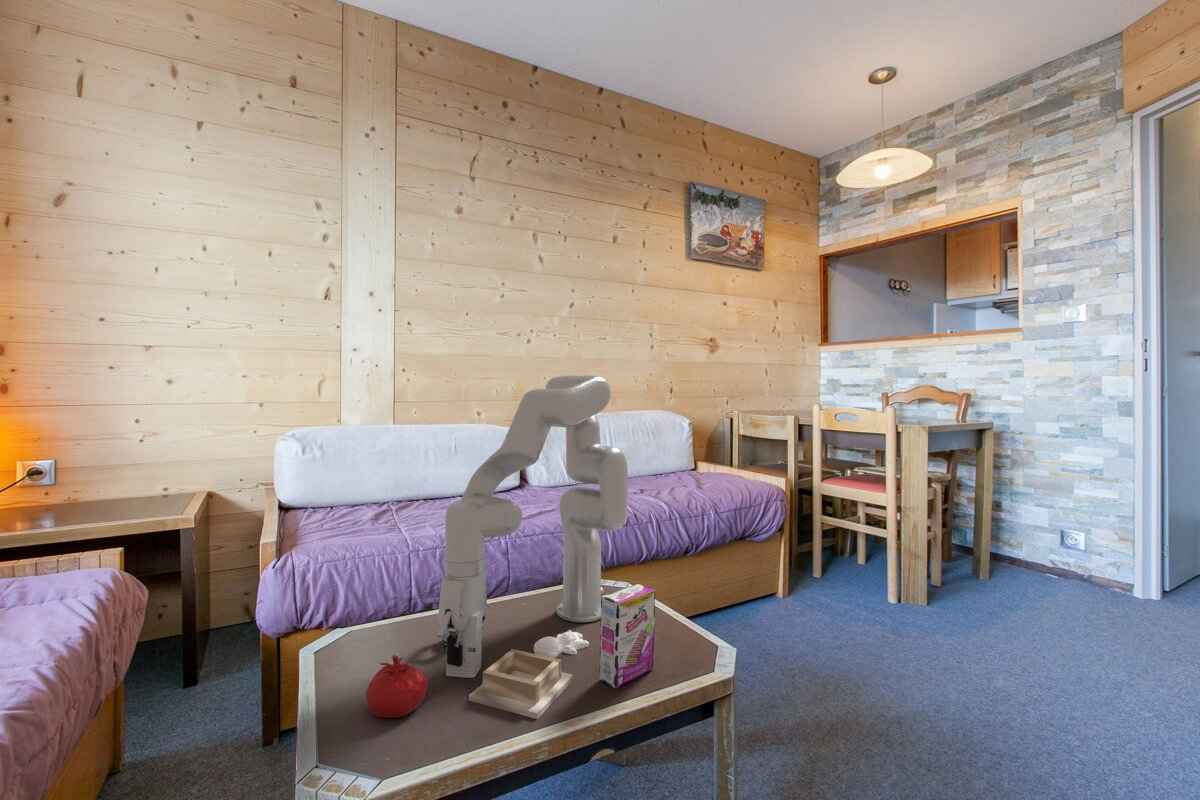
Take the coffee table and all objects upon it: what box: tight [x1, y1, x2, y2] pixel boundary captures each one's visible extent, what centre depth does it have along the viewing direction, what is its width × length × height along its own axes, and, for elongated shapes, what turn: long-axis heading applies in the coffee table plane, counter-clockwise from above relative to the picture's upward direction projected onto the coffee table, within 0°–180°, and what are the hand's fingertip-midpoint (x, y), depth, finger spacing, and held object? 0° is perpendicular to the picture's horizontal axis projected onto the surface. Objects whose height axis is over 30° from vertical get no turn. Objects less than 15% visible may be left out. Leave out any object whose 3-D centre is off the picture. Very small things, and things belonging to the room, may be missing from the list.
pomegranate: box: [365, 654, 428, 719], centre depth 96 cm, size 10×10×9 cm
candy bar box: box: [598, 584, 656, 689], centre depth 108 cm, size 11×5×16 cm, turn 134°
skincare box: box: [445, 609, 483, 679], centre depth 109 cm, size 6×4×12 cm
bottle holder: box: [468, 648, 574, 720], centre depth 103 cm, size 14×14×4 cm
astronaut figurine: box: [533, 629, 590, 658], centre depth 120 cm, size 9×12×3 cm
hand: (464, 656), depth 109 cm, fingers closed on skincare box, 5 cm apart
